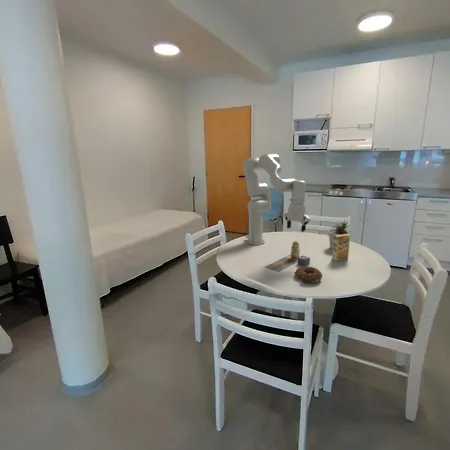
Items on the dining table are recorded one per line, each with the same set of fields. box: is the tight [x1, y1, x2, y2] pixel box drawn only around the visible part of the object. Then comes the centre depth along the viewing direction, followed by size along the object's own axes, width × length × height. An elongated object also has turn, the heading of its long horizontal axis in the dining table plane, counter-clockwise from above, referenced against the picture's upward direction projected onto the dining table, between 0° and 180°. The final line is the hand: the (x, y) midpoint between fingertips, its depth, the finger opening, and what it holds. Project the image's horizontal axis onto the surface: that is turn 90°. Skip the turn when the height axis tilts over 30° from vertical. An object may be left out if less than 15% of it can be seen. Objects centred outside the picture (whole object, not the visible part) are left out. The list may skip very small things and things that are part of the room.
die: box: [297, 255, 311, 267], centre depth 171 cm, size 5×5×5 cm
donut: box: [294, 265, 323, 284], centre depth 154 cm, size 14×14×5 cm
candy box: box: [331, 234, 351, 261], centre depth 178 cm, size 9×4×15 cm, turn 107°
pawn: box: [290, 240, 301, 259], centre depth 179 cm, size 5×5×10 cm
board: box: [264, 253, 301, 273], centre depth 174 cm, size 10×28×1 cm, turn 135°
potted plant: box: [327, 219, 352, 250], centre depth 195 cm, size 13×14×20 cm
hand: (295, 229), depth 177 cm, fingers open, 9 cm apart
